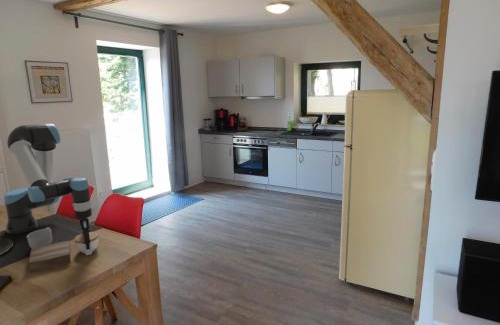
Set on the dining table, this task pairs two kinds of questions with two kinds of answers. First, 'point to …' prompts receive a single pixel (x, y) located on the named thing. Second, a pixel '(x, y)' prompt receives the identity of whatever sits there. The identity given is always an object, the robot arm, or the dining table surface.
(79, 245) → the lidded jar
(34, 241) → the teacup
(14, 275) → the dining table surface
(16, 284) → the dining table surface
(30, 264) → the walnut block
